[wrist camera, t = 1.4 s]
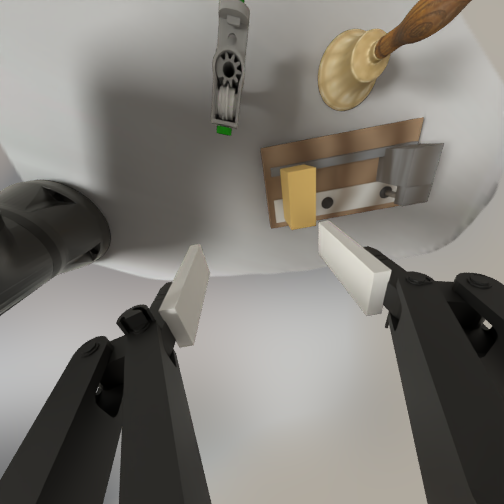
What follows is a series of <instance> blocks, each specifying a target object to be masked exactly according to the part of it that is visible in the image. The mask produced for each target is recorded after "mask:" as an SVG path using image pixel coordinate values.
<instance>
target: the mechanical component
mask: <svg viewBox="0 0 504 504" xmlns="http://www.w3.org/2000/svg"><path fill="white" fill-rule="evenodd" d="M218 13H219V26H218V44H217V49H216V53H215V55H214V58H213V62H212V70H213V91H212V110H211V122H212V123H213V124H217V125H220V126H217V133H219V134H224V135H229V136H231V131H232V129H231V128H229V127H232V128H237V127H238V118H239V109H240V100H241V91H242V88H243V84H244V74H245V65H244V64H245V55H246V46H247V37H248V27H249V16H250V10H249V8H248V7H247V5H246V4H245V3H244V0H220V1H219V12H218Z"/></svg>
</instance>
